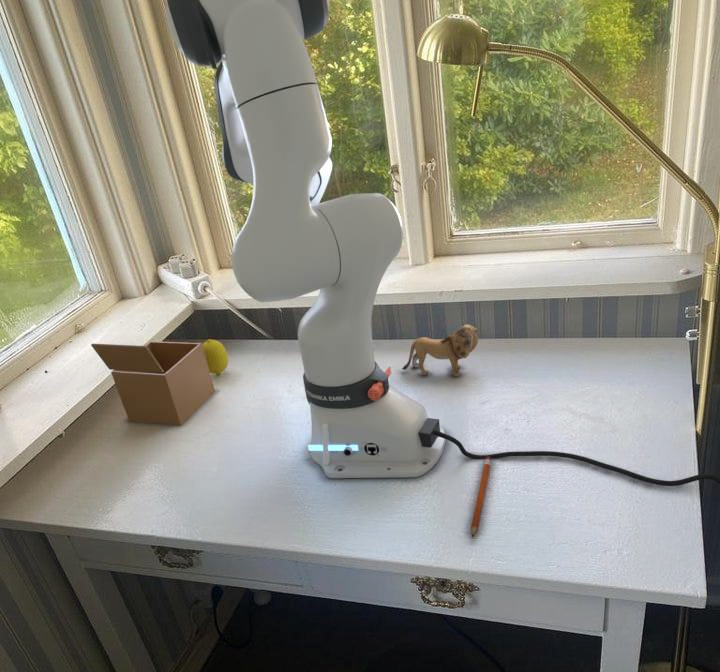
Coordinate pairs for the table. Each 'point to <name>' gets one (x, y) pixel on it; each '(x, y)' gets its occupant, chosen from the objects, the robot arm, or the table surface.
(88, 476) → the table surface
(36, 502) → the table surface
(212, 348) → the lemon
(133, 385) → the carton
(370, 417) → the robot arm
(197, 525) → the table surface
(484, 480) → the pencil
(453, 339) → the lion figurine
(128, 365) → the flap
